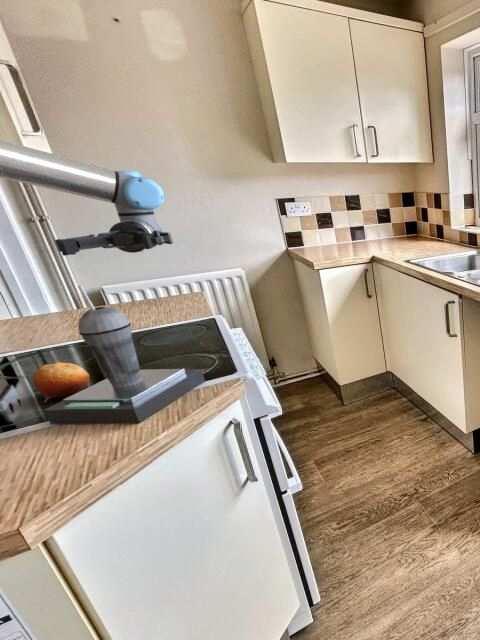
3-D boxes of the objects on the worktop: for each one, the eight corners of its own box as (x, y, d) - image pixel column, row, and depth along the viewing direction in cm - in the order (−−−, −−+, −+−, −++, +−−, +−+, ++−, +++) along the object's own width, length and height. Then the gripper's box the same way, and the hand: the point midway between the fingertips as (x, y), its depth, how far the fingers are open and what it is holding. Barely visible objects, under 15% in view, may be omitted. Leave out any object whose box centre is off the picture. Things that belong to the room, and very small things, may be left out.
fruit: (29, 390, 87) (43, 354, 87) (81, 396, 93) (95, 363, 93) (21, 404, 82) (36, 366, 82) (78, 410, 87) (92, 374, 87)
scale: (50, 424, 77) (41, 407, 76) (130, 382, 93) (124, 367, 92) (139, 423, 77) (132, 406, 75) (205, 381, 92) (200, 366, 91)
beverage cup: (158, 378, 85) (123, 281, 78) (115, 394, 79) (71, 290, 72) (139, 372, 88) (102, 278, 81) (95, 387, 82) (51, 287, 75)
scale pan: (64, 404, 78) (62, 399, 78) (126, 374, 90) (124, 369, 90) (132, 403, 77) (130, 398, 77) (185, 373, 90) (184, 368, 89)
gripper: (196, 246, 114) (182, 257, 96) (73, 255, 103) (33, 270, 85) (187, 217, 111) (172, 223, 94) (61, 224, 100) (16, 232, 83)
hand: (105, 245), depth 89 cm, fingers open, 13 cm apart
